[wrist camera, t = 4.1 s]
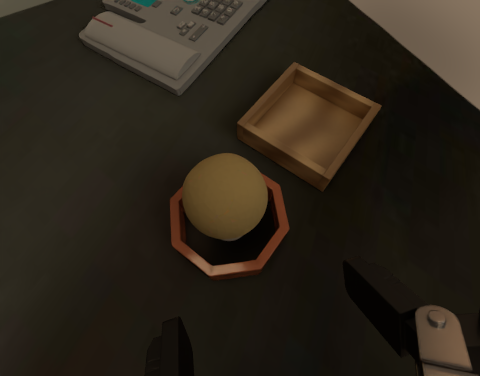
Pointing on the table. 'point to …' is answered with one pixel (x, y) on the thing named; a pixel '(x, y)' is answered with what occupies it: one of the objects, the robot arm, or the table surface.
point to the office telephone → (166, 36)
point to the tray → (307, 124)
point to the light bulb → (225, 196)
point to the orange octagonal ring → (233, 268)
